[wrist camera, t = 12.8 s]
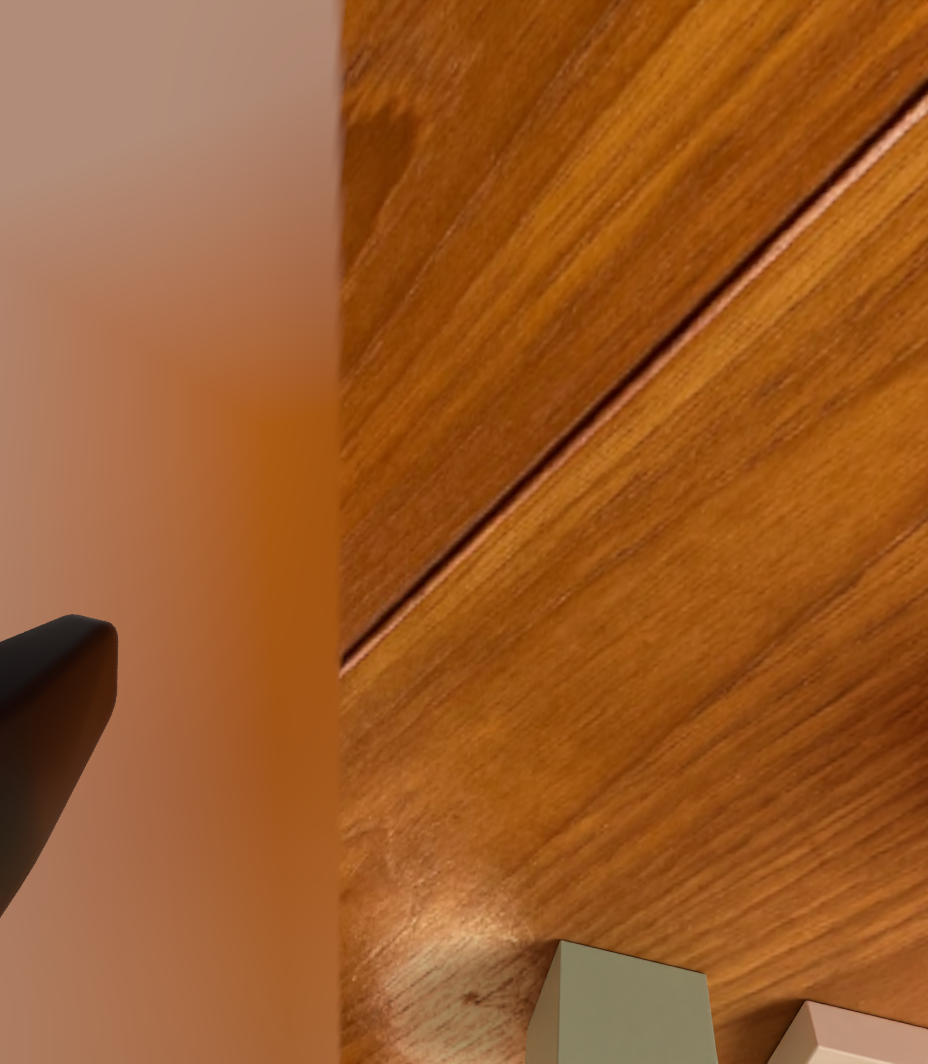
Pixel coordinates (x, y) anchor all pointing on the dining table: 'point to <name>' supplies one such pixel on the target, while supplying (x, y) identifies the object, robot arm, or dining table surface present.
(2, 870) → the robot arm
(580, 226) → the dining table surface
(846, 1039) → the beige letter tiles
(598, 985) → the green letter i block
